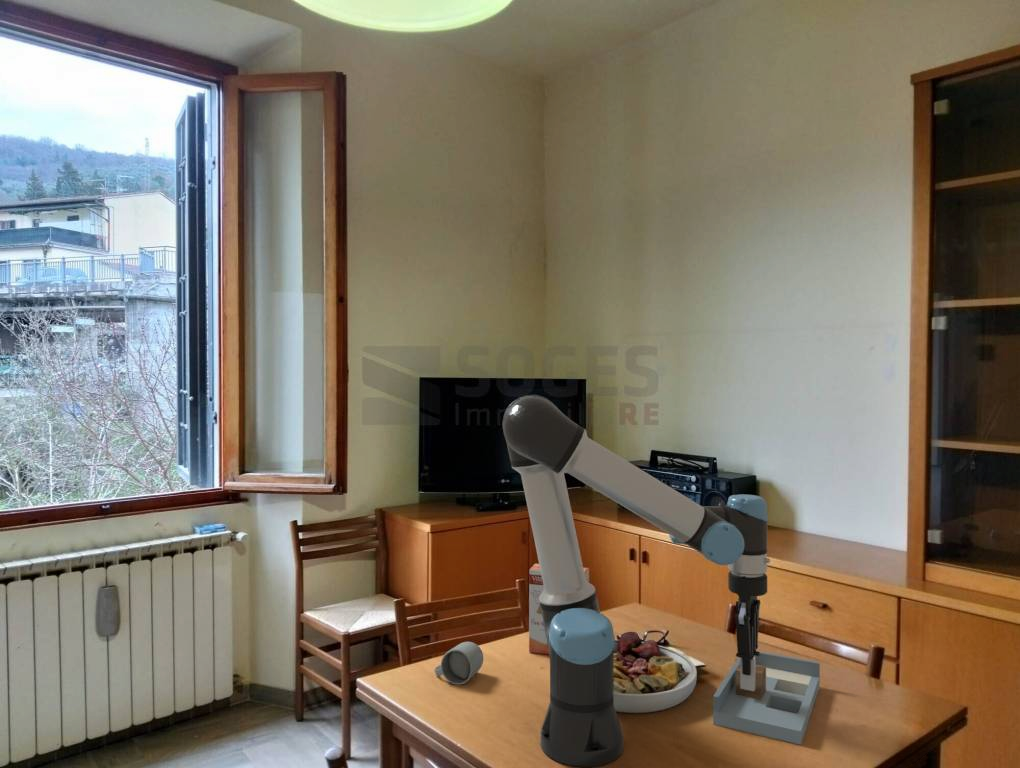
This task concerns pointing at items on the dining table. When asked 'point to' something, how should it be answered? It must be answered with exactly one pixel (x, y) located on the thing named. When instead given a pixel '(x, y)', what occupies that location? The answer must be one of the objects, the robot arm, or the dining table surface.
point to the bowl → (649, 676)
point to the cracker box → (538, 611)
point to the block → (759, 683)
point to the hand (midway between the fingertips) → (747, 688)
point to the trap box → (771, 699)
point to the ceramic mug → (460, 663)
